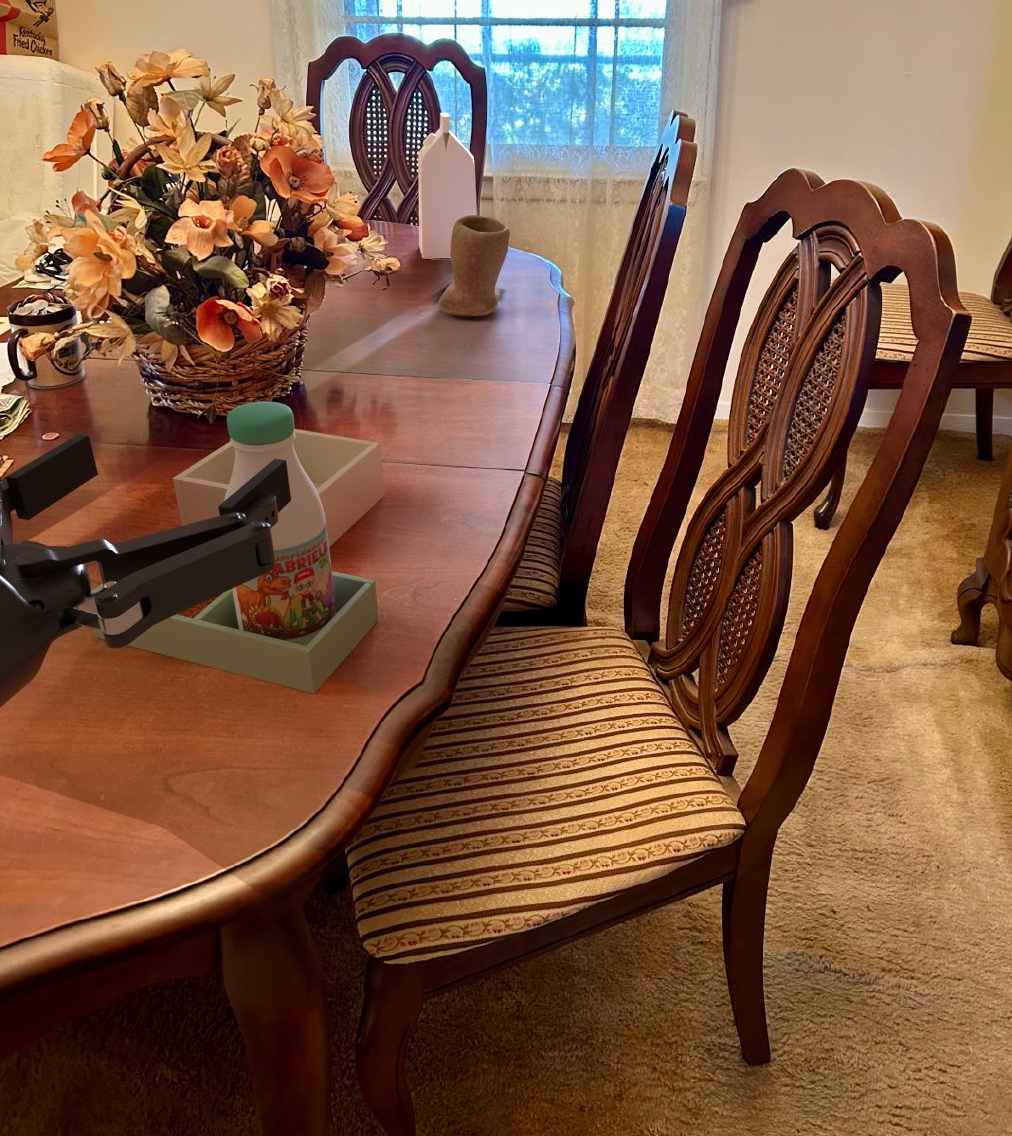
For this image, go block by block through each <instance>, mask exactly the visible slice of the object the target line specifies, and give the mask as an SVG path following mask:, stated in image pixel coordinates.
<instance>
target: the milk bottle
mask: <svg viewBox="0 0 1012 1136" xmlns="http://www.w3.org/2000/svg"><path fill="white" fill-rule="evenodd" d="M226 425H227V431H228V435H229V437H230V439H229V442H230V443H231V445H232V446H233V447H234V448H235V462H234V468H233V473H232V477H231V480H230V483H229V486H228V489H227V492H226V495H225V499H224V501H225V500H226V499H227V498H229V497H230V496H231V495H232V494H233V493H235V492H236V491H237V490H238V489H239V488H240V487H242V486H243V485H244V484H245V483H246V482H248V481H249V480H250V479H251V478H252V477H253V476H255V475H256V474H257V473H258V472H259V471H261V470H262V469H263V468H264V467H265V466H266V465H268V464H269V463H270V462H271V461H272V460H274V459H282V460H286V463H287V470H288V478H289V486H290V494H291V501H290V502H289V503H288V504H287V505H286V506H285V507H284V508H283V509H282V510H281V511H280V512H279V513H278V522H277V523H276V524H275V525H274V526H272V528H271V535H272V542H273V549H274V556H275V564H276V567H275V568H274V569H273V570H271V571H269V572H267V573H265V574H263V575H261V576H259V577H256V578H254V579H252V580H250V581H248V582H246V583H243V584H241V585H239V586H237V587H235V588H233V589H232V591H233V597H234V602H235V608H236V614H237V620H238V626H239V630H243V631H247V632H251V633H255V634H259V635H263V636H267V637H272V638H276V639H280V640H284V641H288V642H292V643H296V644H301V645H305V646H307V645H308V644H309V643H310V642H311V641H312V639H313V638H314V637H315V636H316V635H317V634H318V633H319V632H320V631H321V630H322V629H323V628H324V627H325V626H326V625H327V624H328V622H329V621H330V620H331V619H332V618H333V617H334V616H335V615H336V606H335V597H334V587H333V578H332V571H333V569H332V561H331V551H330V547H329V542H328V534H327V527H326V521H325V514H324V510H323V506H322V502H321V500H320V497H319V494H318V492H317V490H316V488H315V486H314V485H313V483H312V481H311V480H310V478H309V477H308V475H307V474H306V472H305V471H304V469H303V467H302V466H301V464H300V462H299V460H298V457H297V455H296V453H295V450H294V446H293V441H294V440H295V438H296V435H295V433H294V429H295V417H294V414H293V411H292V408H290V407H289V406H287V405H286V404H284V403H281V402H275V401H254V402H249V403H245V404H241V405H239V406H236V407H234V408H232V409H231V410H230V411H229V412H228V413H227V416H226Z"/></svg>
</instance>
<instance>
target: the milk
mask: <svg viewBox="0 0 1012 1136" xmlns="http://www.w3.org/2000/svg"><path fill="white" fill-rule="evenodd" d="M439 115H440V117H439V128H438V129H437V130H436V131H435V132H430V133H429V134H428V135H427V136H426V138H425V139H424V140H423V142H422V145H423V146H422V147H421V148H420V149H419V151H418V155H417V156H418V157H417V159H418V160H417V161H418V162H417V163H418V164H417V166H418V169H417V173H418V176H417V177H418V238H419V239H418V248H419V252H420V255H421V254H422V255H421V258H450V250H451V238H452V230H453V227H454V224H455V222H456V221H457V220H458V219H459V218H461V217H464V216H468V215H478V209H477V208H478V207H477V206H478V205H477V190H476V188H477V187H476V185H477V184H476V168H475V167H476V166H475V159H474V156H473V155H472V153H471V152H470V151H469V150H468V148H466V146H465V145H464V144H463V143H462V142H461V141H460V140H459V139H458V138H457V137H456V135H454V134H453V133H452V131H451V116H450V114H449V113H448V112H440V114H439Z"/></svg>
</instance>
